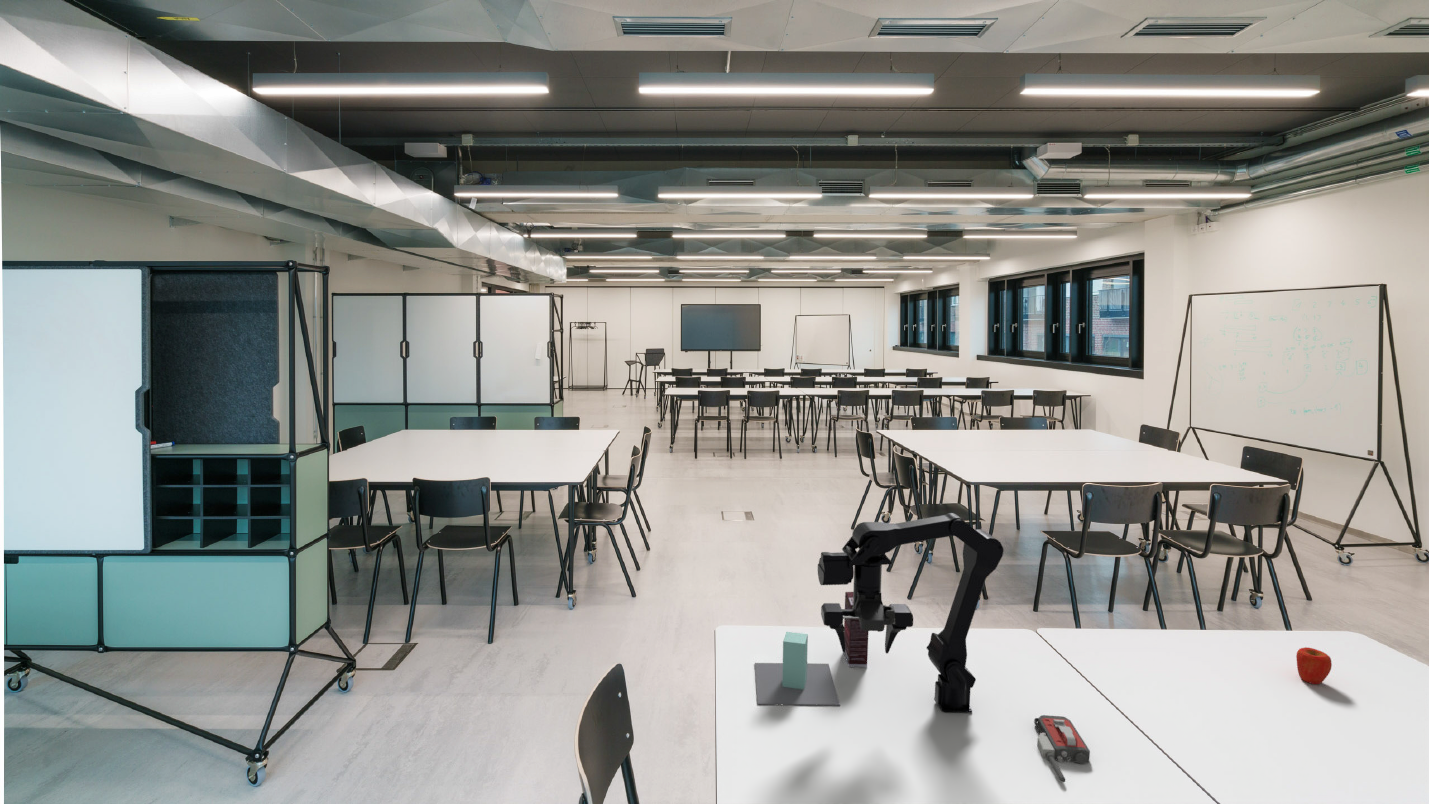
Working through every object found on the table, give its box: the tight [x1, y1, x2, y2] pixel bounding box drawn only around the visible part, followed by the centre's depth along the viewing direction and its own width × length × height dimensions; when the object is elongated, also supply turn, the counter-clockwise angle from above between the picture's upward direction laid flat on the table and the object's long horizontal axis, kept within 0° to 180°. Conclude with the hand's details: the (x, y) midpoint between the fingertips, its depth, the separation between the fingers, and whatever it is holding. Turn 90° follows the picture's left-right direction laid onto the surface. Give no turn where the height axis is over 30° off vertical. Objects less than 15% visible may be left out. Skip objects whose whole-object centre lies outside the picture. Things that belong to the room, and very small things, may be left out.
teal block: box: [782, 631, 809, 689], centre depth 166 cm, size 5×5×11 cm
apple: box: [1295, 647, 1333, 685], centre depth 168 cm, size 6×6×8 cm
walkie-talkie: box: [1033, 714, 1091, 783], centre depth 141 cm, size 9×4×20 cm
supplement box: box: [843, 591, 869, 668], centre depth 177 cm, size 9×5×16 cm, turn 179°
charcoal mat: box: [754, 662, 841, 707], centre depth 167 cm, size 18×18×1 cm
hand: (865, 652), depth 155 cm, fingers open, 9 cm apart
